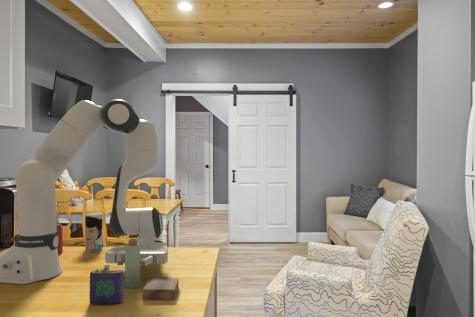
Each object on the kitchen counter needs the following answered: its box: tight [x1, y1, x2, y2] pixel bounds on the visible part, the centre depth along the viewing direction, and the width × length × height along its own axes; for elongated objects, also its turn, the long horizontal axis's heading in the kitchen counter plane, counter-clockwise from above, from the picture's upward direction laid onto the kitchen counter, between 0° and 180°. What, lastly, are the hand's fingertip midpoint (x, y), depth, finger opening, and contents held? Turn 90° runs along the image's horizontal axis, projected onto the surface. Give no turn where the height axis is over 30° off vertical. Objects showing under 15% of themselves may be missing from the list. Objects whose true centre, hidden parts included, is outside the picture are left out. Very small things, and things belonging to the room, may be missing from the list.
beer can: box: [56, 222, 64, 255], centre depth 149 cm, size 7×7×12 cm
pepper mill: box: [124, 237, 141, 290], centre depth 116 cm, size 5×5×15 cm
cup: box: [84, 212, 104, 252], centre depth 155 cm, size 7×7×15 cm
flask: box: [89, 264, 125, 306], centre depth 103 cm, size 9×3×11 cm, turn 95°
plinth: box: [142, 277, 180, 301], centre depth 111 cm, size 9×9×3 cm
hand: (131, 263), depth 115 cm, fingers open, 6 cm apart
